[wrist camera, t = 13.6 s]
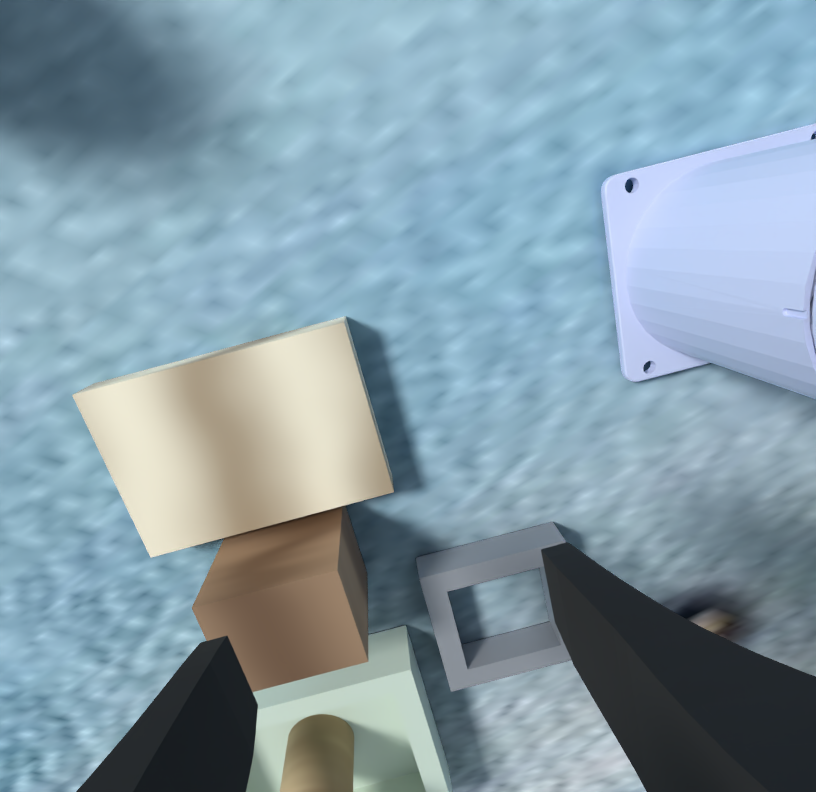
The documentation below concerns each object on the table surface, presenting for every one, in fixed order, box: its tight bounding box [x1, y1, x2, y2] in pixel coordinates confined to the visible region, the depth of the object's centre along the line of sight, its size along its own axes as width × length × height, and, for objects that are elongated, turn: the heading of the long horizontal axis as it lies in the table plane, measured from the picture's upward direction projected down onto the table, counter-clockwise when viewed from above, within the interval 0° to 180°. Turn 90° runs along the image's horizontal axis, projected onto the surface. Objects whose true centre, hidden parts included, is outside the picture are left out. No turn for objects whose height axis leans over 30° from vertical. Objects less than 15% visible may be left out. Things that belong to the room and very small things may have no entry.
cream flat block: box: [72, 316, 394, 557], centre depth 20 cm, size 10×7×2 cm
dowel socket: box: [416, 522, 572, 692], centre depth 23 cm, size 6×6×2 cm
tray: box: [246, 625, 453, 792], centre depth 24 cm, size 11×10×3 cm
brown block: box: [192, 505, 368, 692], centre depth 20 cm, size 5×4×5 cm
